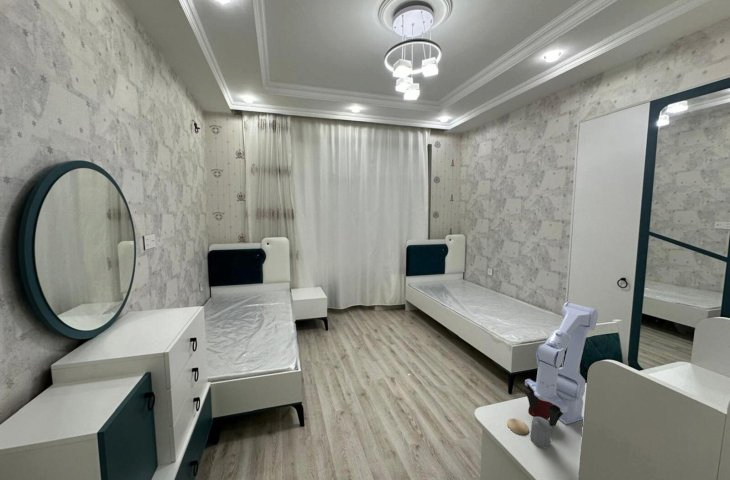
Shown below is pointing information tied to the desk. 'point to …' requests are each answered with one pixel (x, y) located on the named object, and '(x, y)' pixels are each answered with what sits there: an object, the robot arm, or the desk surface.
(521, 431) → the tan round coaster
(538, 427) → the faceted grey cylinder
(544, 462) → the desk surface
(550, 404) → the mug
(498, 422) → the desk surface
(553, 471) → the desk surface
